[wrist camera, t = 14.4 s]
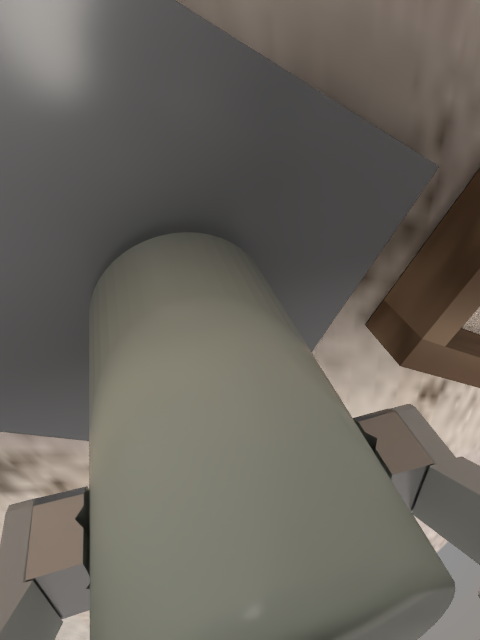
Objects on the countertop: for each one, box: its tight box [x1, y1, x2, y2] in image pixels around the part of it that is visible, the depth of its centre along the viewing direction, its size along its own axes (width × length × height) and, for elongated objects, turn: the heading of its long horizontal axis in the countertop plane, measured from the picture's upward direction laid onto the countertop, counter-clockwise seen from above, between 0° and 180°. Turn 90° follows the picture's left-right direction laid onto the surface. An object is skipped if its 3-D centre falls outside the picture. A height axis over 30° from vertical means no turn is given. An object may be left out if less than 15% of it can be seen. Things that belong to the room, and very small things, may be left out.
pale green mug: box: [89, 232, 455, 640], centre depth 12 cm, size 8×6×10 cm
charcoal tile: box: [0, 0, 439, 441], centre depth 16 cm, size 16×14×1 cm
